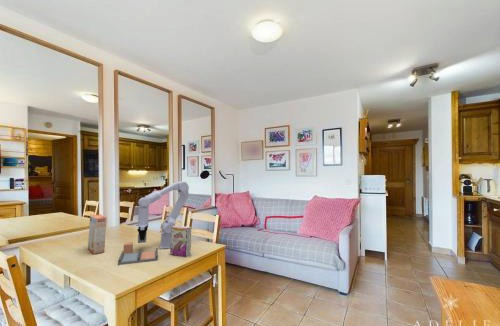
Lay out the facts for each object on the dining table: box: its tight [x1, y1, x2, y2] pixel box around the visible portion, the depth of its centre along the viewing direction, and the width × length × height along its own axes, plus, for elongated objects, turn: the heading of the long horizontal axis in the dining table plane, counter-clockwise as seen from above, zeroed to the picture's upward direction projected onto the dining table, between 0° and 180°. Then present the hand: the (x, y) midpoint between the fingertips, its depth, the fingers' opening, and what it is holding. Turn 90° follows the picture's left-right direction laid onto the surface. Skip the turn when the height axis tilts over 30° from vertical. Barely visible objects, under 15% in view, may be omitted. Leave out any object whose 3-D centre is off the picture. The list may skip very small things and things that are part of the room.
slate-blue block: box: [137, 232, 147, 244], centre depth 138 cm, size 4×4×5 cm
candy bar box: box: [170, 224, 192, 258], centre depth 132 cm, size 11×5×16 cm, turn 71°
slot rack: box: [117, 247, 159, 266], centre depth 125 cm, size 19×14×2 cm
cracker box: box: [87, 214, 108, 255], centre depth 136 cm, size 14×6×21 cm, turn 47°
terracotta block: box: [123, 241, 134, 254], centre depth 135 cm, size 4×4×5 cm
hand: (142, 239), depth 138 cm, fingers closed on slate-blue block, 4 cm apart
